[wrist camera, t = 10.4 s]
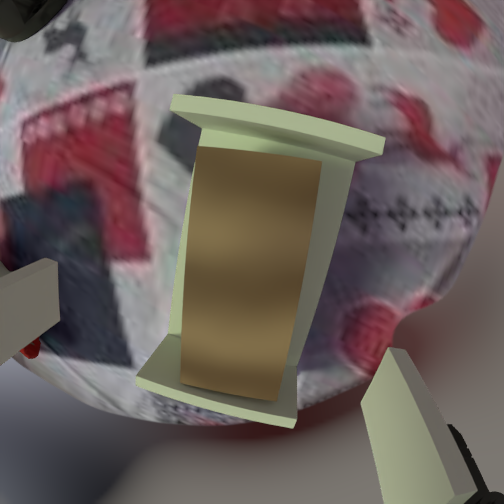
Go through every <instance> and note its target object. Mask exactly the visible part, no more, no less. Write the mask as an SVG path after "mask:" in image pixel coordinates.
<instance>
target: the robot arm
mask: <svg viewBox="0 0 504 504" xmlns="http://www.w3.org/2000/svg"><path fill="white" fill-rule="evenodd" d="M66 1H67V0H0V38H1V39H4V40H7V41H10V42H19V41H22V40H24V39H26V38H28V37H30V36H31V35H33V34H34V33H36V32H37V31H38V30H39V29H41V28H42V27H43V26H44V25H45V24H46V23H47V22H48V21H49V20H50V19H51V18H52V17H53V16H54V15H55V14H56V13H57V12H58V11H59V10H60V9H61V8H62V6H63V5H64V4H65V3H66ZM59 321H60V310H59V292H58V262H56V261H53V260H51V259H48V258H43V259H41V260H39V261H36V262H34V263H32V264H29V265H27V266H25V267H22V268H20V269H18V270H16V271H14V272H11V273H9V274H7V275H5V276H3V277H0V366H1V365H2V364H3V363H5V362H6V361H7V360H8V359H10V358H11V357H12V356H14V355H15V354H16V353H17V352H19V351H20V350H21V349H23V348H24V347H25V346H27V345H28V344H29V343H31V342H32V341H33V340H35V339H36V338H37V337H39V336H40V335H41V334H43V333H44V332H45V331H47V330H48V329H49V328H51V327H52V326H53V325H55V324H56V323H58V322H59ZM361 407H362V410H363V414H364V418H365V422H366V426H367V430H368V434H369V438H370V442H371V447H372V451H373V455H374V459H375V464H376V468H377V473H378V477H379V482H380V487H381V492H382V497H383V502H384V504H504V495H503V494H502V493H499V492H489V490H488V488H487V486H486V484H485V482H484V480H483V477H482V475H481V473H480V471H479V469H478V467H477V465H476V463H475V461H474V459H473V458H471V456H472V454H471V453H470V451H469V449H468V448H467V445H466V443H465V441H464V439H463V437H462V435H461V434H460V433H459V432H458V431H457V430H456V429H455V428H454V427H453V426H452V424H446V422H445V420H444V418H443V416H442V414H441V412H440V410H439V408H438V407H437V405H436V403H435V401H434V399H433V397H432V395H431V394H430V392H429V390H428V388H427V387H426V385H425V383H424V381H423V379H422V378H421V376H420V374H419V372H418V371H417V369H416V367H415V365H414V364H413V362H412V360H411V358H410V357H409V355H408V353H407V352H406V350H404V349H397V348H391V347H388V349H387V351H386V353H385V355H384V357H383V359H382V362H381V364H380V366H379V368H378V370H377V372H376V374H375V376H374V378H373V380H372V382H371V384H370V386H369V388H368V390H367V392H366V394H365V395H364V397H363V399H362V401H361Z"/></svg>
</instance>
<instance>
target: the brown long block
mask: <svg viewBox="0 0 504 504" xmlns="http://www.w3.org/2000/svg"><path fill="white" fill-rule="evenodd" d="M321 166H322V161H318V160H312V159H305V158H299V157H293V156H286V155H279V154H271V153H264V152H255V151H247V150H238V149H228V148H218V147H206V146H197V153H196V160H195V169H194V177H193V185H192V195H191V204H190V214H189V224H188V235H187V247H186V260H185V274H184V289H183V307H182V330H181V362H180V383H183V384H187V385H191V386H195V387H200V388H204V389H209V390H214V391H218V392H223V393H228V394H234V395H239V396H245V397H251V398H257V399H263V400H270V401H277V398H278V394H279V390H280V386H281V382H282V377H283V373H284V369H285V364H286V360H287V355H288V351H289V346H290V342H291V337H292V332H293V328H294V323H295V318H296V313H297V308H298V303H299V298H300V293H301V288H302V283H303V277H304V272H305V267H306V261H307V255H308V250H309V244H310V238H311V232H312V226H313V220H314V214H315V207H316V201H317V194H318V188H319V181H320V174H321Z"/></svg>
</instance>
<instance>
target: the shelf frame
mask: <svg viewBox="0 0 504 504" xmlns="http://www.w3.org/2000/svg"><path fill="white" fill-rule="evenodd" d="M170 111H172V112H174V113H176V114H178V115H179V116H181V117H183V118H185V119H187V120H188V121H190V122H192V123H194V124H195V125H197V126H199V127H201V128H202V132H201V137H200V141H199V146H206V147H218V148H228V149H238V150H247V151H255V152H264V153H271V154H279V155H286V156H293V157H299V158H305V159H312V160H318V161H322V166H321V174H320V181H319V188H318V194H317V201H316V207H315V214H314V220H313V226H312V232H311V238H310V244H309V250H308V255H307V261H306V267H305V272H304V277H303V283H302V288H301V293H300V298H299V303H298V308H297V313H296V318H295V323H294V328H293V332H292V337H291V342H290V346H289V351H288V355H287V360H286V364H285V369H284V373H283V377H282V382H281V386H280V390H279V394H278V398H277V401H270V400H263V399H257V398H251V397H245V396H239V395H234V394H228V393H223V392H218V391H214V390H209V389H204V388H200V387H195V386H191V385H187V384H183V383H180V362H181V330H182V307H183V289H184V274H185V260H186V247H187V235H188V224H189V214H190V204H191V195H192V185H193V177H194V170H193V175H192V180H191V185H190V190H189V195H188V201H187V206H186V212H185V217H184V223H183V229H182V235H181V241H180V247H179V254H178V260H177V267H176V274H175V281H174V289H173V296H172V304H171V312H170V321H169V329H168V334H167V336H166V337H165V338H164V340H163V341H162V342H161V344H160V345H159V346H158V347H157V349H156V350H155V351H154V353H153V354H152V355H151V357H150V358H149V359H148V361H147V362H146V363H145V364H144V366H143V367H142V368H141V370H140V371H139V372H138V374H137V375H136V386H138V387H141V388H144V389H146V390H149V391H152V392H155V393H158V394H160V395H163V396H166V397H169V398H172V399H175V400H179V401H182V402H185V403H188V404H191V405H195V406H198V407H202V408H205V409H209V410H212V411H216V412H220V413H224V414H228V415H232V416H236V417H240V418H244V419H248V420H253V421H258V422H263V423H267V424H273V425H278V426H283V427H289V428H293V427H294V425H295V423H296V421H297V365H298V362H299V359H300V356H301V353H302V351H303V348H304V345H305V342H306V339H307V336H308V333H309V330H310V327H311V324H312V321H313V318H314V315H315V311H316V308H317V305H318V302H319V299H320V295H321V292H322V289H323V286H324V282H325V279H326V275H327V272H328V269H329V265H330V262H331V258H332V254H333V251H334V247H335V244H336V240H337V236H338V232H339V229H340V225H341V221H342V217H343V213H344V209H345V205H346V201H347V197H348V193H349V188H350V184H351V180H352V175H353V171H354V166H355V162H357V161H361V160H365V159H368V158H372V157H376V156H380V155H382V153H383V148H384V143H385V137H382V136H379V135H376V134H373V133H369V132H366V131H363V130H360V129H356V128H353V127H349V126H346V125H342V124H339V123H335V122H331V121H328V120H324V119H320V118H316V117H312V116H308V115H303V114H299V113H294V112H290V111H285V110H280V109H275V108H270V107H265V106H260V105H254V104H248V103H242V102H236V101H230V100H223V99H215V98H207V97H199V96H190V95H179V94H174V95H173V98H172V102H171V106H170ZM194 169H195V165H194Z"/></svg>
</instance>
